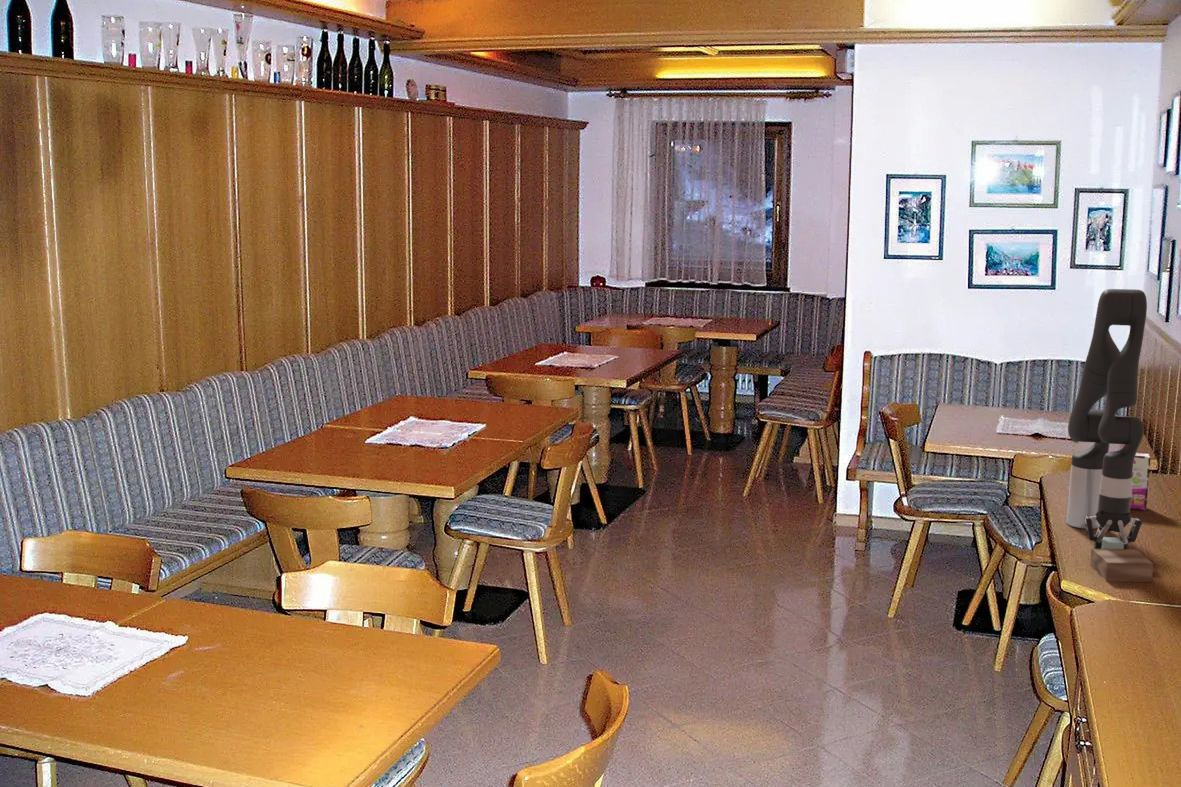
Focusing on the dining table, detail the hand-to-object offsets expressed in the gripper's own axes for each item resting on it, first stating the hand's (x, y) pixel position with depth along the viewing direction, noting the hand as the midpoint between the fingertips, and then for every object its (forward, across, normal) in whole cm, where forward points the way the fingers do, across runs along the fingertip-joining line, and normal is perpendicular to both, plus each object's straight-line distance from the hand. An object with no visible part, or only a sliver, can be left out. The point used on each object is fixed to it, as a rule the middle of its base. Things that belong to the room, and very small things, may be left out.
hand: (1109, 556), depth 311 cm
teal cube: (+1, 0, 0) cm, 1 cm away
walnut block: (+1, 0, +12) cm, 12 cm away
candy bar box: (+1, -18, -51) cm, 54 cm away
